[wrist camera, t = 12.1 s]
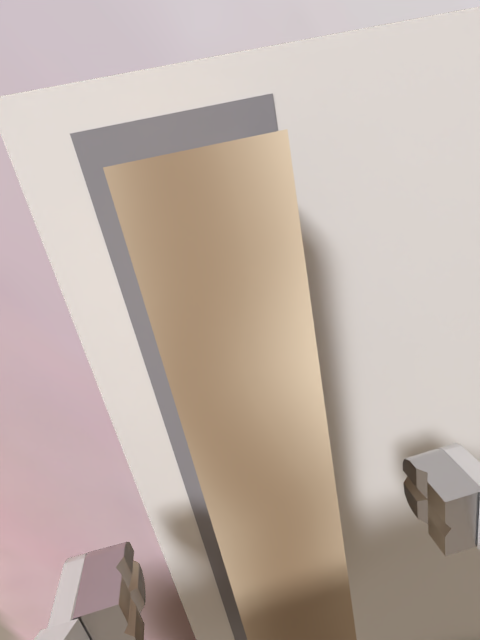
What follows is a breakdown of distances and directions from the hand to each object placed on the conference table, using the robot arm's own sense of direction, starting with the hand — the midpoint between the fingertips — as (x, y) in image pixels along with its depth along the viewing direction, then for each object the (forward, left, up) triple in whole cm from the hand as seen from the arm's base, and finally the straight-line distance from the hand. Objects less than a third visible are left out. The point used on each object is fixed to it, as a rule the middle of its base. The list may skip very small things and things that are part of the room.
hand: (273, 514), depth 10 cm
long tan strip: (0, 0, -3) cm, 3 cm away
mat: (-5, +8, -4) cm, 10 cm away
